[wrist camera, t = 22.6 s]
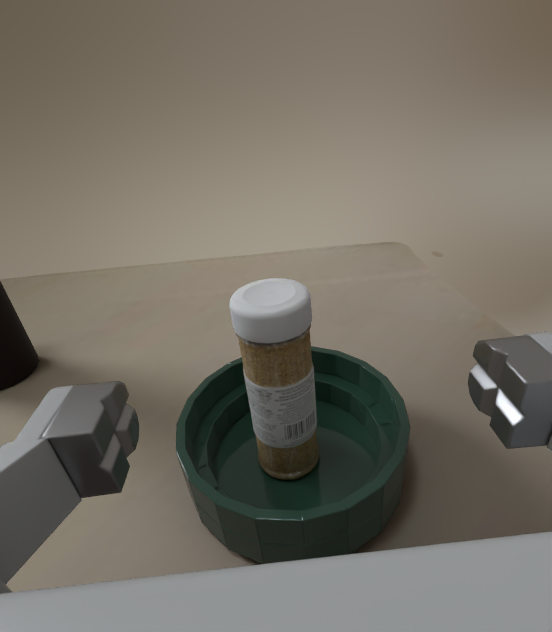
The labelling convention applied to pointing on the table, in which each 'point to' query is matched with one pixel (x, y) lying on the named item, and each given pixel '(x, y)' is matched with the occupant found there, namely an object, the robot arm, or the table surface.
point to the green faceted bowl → (313, 488)
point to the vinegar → (13, 345)
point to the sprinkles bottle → (278, 373)
